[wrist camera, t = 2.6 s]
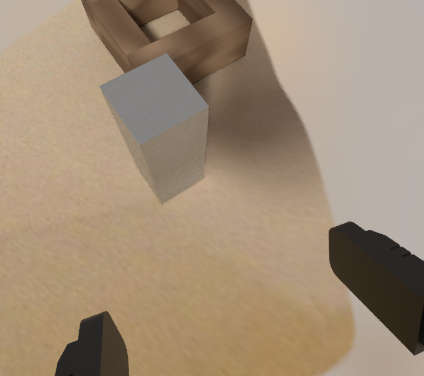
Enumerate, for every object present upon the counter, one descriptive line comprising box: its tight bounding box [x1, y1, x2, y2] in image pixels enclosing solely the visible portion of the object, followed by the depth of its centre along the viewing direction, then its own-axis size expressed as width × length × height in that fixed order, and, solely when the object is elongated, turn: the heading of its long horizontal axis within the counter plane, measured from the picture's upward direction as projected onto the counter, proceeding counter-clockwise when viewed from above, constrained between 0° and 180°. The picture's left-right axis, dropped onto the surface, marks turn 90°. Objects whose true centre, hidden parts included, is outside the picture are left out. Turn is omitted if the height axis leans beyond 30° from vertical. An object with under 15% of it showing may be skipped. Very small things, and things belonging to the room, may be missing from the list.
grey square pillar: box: [99, 53, 209, 203], centre depth 22 cm, size 4×4×11 cm
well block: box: [81, 0, 253, 84], centre depth 30 cm, size 12×12×4 cm
